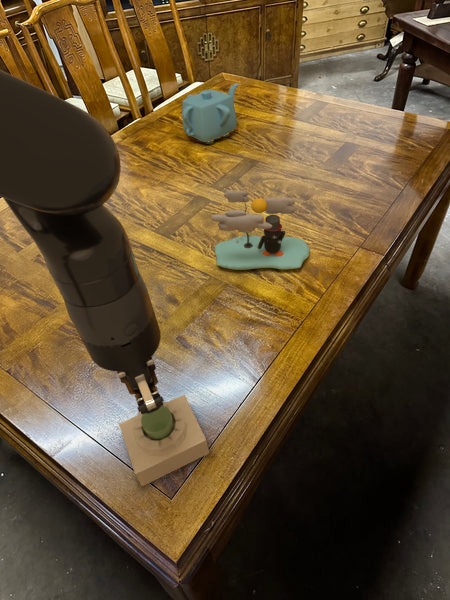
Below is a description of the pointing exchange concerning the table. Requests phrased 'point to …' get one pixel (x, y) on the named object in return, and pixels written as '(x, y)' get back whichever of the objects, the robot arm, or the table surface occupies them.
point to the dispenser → (164, 443)
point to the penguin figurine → (256, 249)
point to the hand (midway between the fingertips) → (152, 406)
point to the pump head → (158, 423)
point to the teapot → (209, 114)
